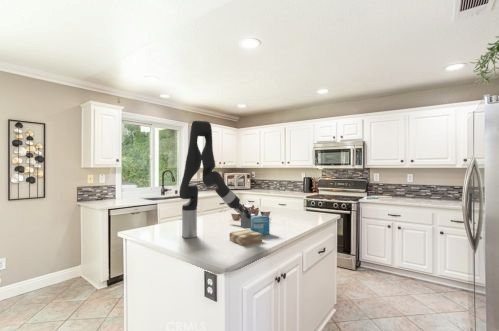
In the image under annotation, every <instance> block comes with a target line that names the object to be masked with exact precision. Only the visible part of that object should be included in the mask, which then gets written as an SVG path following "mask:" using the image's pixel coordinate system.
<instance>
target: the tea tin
mask: <svg viewBox="0 0 499 331" xmlns="http://www.w3.org/2000/svg"><path fill="white" fill-rule="evenodd" d="M247 210H248V209H247ZM248 211H249V214H250V215H251V216H252V211H251V210H248ZM240 228H242V229H244V230H247V229H250V228H251V218H250V219H248V218H247V217H246V216H245V215H244V214H243V213H241V214H240Z"/></svg>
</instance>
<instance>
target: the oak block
mask: <svg viewBox="0 0 499 331" xmlns="http://www.w3.org/2000/svg"><path fill="white" fill-rule="evenodd" d="M229 241H230V242H233V243H235V244H237V245H240V246H242V247H244V246H248V245H253V244H258V243H262V242H263V235H262V234H261V233H258V232H254V231H251V230H250V229H244V230H238V231H237V230H236V231H232V232H229Z"/></svg>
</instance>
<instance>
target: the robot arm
mask: <svg viewBox="0 0 499 331" xmlns="http://www.w3.org/2000/svg"><path fill="white" fill-rule="evenodd" d="M199 137H203V138H204V140H205V142H204V146H203V148H202V151H201V150H200V148H199V145H198V140H199ZM188 143H189V144H188V150H187V154H186V157H185V158H186V160H185V164H184V171H183V176H182V179H181V184H180V187H179V197H180V199H181V200H189V201H187V202H186V203H184V204H183V205H182V206H181V214H182V215H181V222H182V223H181V226H182V227H181V237H182V238H184V239H192V238H196V237H197V236H198V205H199V204H198V201H199V188H198V186H197V185H196V184H191V183H190V182H191V180H192V179H193V177H194V176H195V175H196V174H197V173H198V172H199V170H200V169H201V167H202V178H201V179H202V182H203V184H204V185H205V186H206V187H208V188H210V187H212V186H215V185H216V187H215V189H214V191H215V193H216V194H217V195H218V196H219V197H220V198H221V199H222V201H223V202H224V203H225V204H226V205H227V206H228V207H229V208H230V209H233V210H234V211H235V212H237V213H238V214H239V215H241V213H243V214H244V215H245V216H246V217H247V218H248V219H250V218H251V217H252V214H251V215H250V214H249V211H250V210H249V211H248V208H247V207H246V205H243V204H241V202H240V201H241V199H240V198H239V197H238V196H237V194H236V193H235V192H233V190H232V189H231V188H230V187H228V185H226V183H225V180H224V178H223V177H222V175H221V173H219V171H216V170H214V169H215V168H216V161H215V157H214V156H215V155H214V149H213V146H214V145H213V130H212V125H211V122H209V121H206V120H197V119H194V120H193V121H192V123H191V125H190V133H189V142H188Z"/></svg>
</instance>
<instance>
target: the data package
mask: <svg viewBox="0 0 499 331" xmlns="http://www.w3.org/2000/svg"><path fill="white" fill-rule="evenodd" d="M249 230H251V231H254V232H258V233H261V234H262V236H266V235H267V236H268V235H269V234H270V216H267V215H251V228H249Z"/></svg>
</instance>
